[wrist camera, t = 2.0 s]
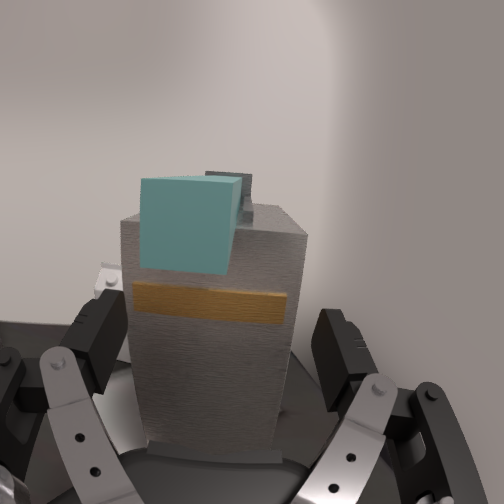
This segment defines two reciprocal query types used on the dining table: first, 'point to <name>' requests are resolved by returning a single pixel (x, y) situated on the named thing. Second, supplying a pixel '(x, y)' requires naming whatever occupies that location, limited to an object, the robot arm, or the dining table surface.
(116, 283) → the milk carton
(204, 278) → the tall grey box
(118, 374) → the dining table surface
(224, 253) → the teal tapered block
